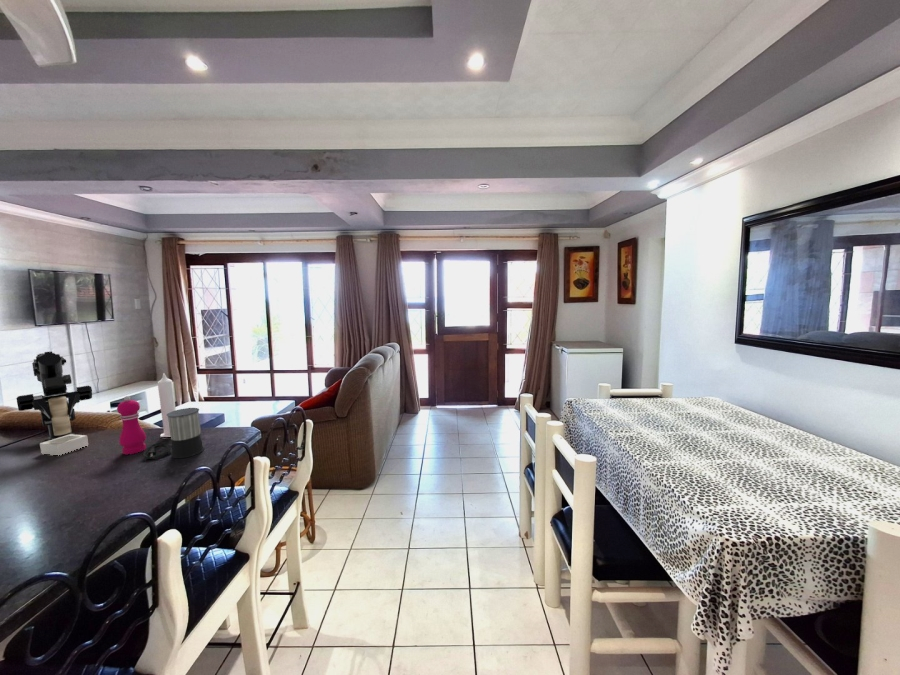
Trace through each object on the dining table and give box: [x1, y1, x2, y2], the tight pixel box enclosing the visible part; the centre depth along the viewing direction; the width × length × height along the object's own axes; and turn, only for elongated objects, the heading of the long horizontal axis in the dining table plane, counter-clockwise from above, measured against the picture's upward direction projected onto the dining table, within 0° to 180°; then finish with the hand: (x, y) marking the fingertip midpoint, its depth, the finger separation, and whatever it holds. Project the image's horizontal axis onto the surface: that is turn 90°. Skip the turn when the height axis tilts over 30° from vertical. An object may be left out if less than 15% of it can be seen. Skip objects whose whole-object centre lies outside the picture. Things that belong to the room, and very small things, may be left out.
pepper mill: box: [116, 395, 147, 456], centre depth 130 cm, size 7×7×20 cm
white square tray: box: [39, 434, 89, 457], centre depth 134 cm, size 9×9×4 cm
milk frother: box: [142, 407, 205, 460], centre depth 126 cm, size 14×16×15 cm
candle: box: [157, 372, 177, 438], centre depth 145 cm, size 7×7×25 cm
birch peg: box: [48, 397, 73, 436], centre depth 133 cm, size 4×4×13 cm
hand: (60, 416), depth 132 cm, fingers closed on birch peg, 4 cm apart
